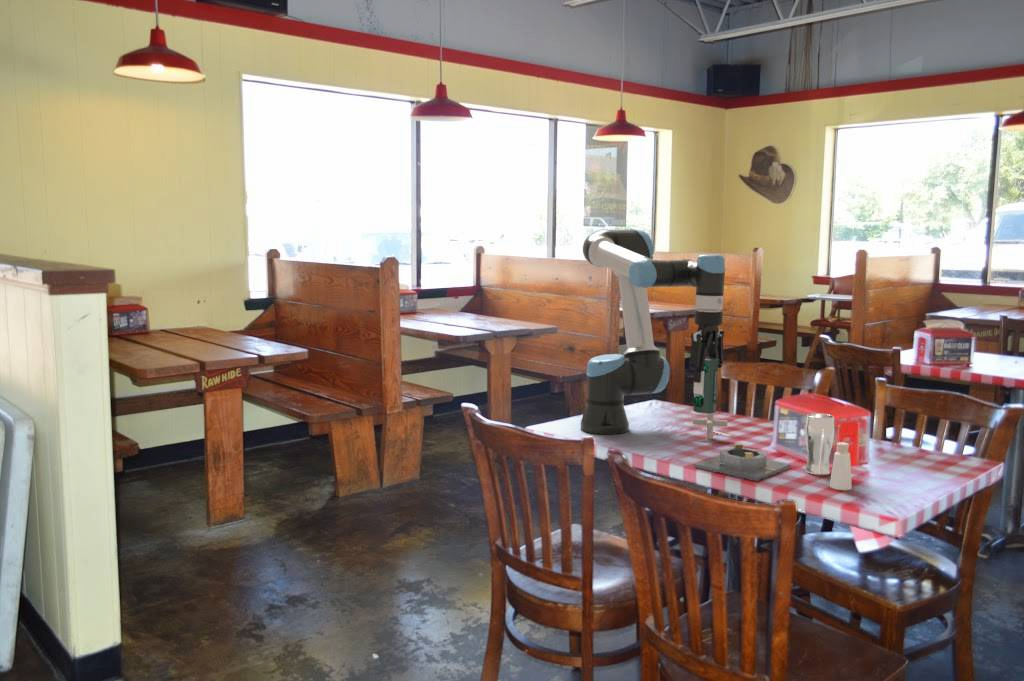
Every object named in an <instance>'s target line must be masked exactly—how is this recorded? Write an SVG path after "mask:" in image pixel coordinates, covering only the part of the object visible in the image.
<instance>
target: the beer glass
mask: <svg viewBox="0 0 1024 681" xmlns="http://www.w3.org/2000/svg"><path fill="white" fill-rule="evenodd" d="M804 436H805V444H806V452H807V453H806V454H807V461H806V465H805V473H807V474H809V473H810V474H809V475H813V474H814V476H829V475H830V474H831V468H830V455H831V451H832V448H833V443H834V437H835V416H834V415H832V414H827V413H822V412H821V413H820V412H819V413H817V412H815V413H814V412H812V413H808V414H807V415H806V422H805V434H804Z"/></svg>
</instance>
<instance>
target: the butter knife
mask: <svg viewBox="0 0 1024 681" xmlns="http://www.w3.org/2000/svg"><path fill="white" fill-rule="evenodd" d="M702 428H703V429H702V430H704V429H706V430H705V431H707V428H704V427H702ZM713 432H715V433H714V434H716V433H718V434H717V435H720V434H722V435H721V436H723V435H725V436H724V437H728V436H730V437H732V434H729V433H728V434H727V433H724V432H721V431H717V430H713Z"/></svg>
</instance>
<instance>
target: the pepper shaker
mask: <svg viewBox="0 0 1024 681" xmlns="http://www.w3.org/2000/svg"><path fill="white" fill-rule="evenodd" d="M849 447H850V444H849V443H847V442H843V441H839V442H837V443H836V449H837V450H836V451H835V452H834V454H833V455H834V456H833V463H832V469H831V473H830V474H831V475H830V481H829V488H831V489H834V490H837V491H850V490H852V489H853V485H852V466H851V453H850V452H849Z"/></svg>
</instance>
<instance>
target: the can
mask: <svg viewBox="0 0 1024 681" xmlns="http://www.w3.org/2000/svg"><path fill="white" fill-rule="evenodd" d="M702 371H704V391H703V394H702V395H701V394H695V393H694V392H693V406H692V407H693V412H695V413H699V414H709V413H714V414H715V413H716V412H717V400H718V399H717V397H718V396H717V395H718V379H717V377H718V376H719V368H718V358H713V357H709V356H706V357H705V361H704V366H703V370H702Z"/></svg>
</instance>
